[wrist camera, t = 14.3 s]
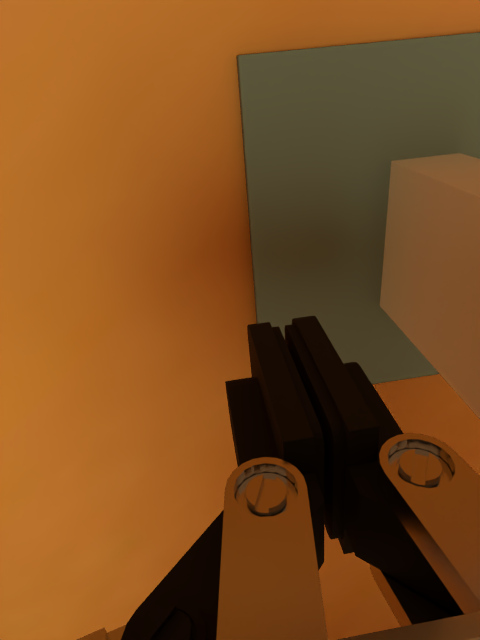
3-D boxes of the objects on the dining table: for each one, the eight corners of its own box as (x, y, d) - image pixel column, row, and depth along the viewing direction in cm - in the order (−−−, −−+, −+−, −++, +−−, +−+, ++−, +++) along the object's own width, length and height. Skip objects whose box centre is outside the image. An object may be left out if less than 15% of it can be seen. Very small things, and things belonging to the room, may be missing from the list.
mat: (593, 345, 23) (599, 349, 22) (262, 395, 21) (263, 400, 21) (716, 10, 16) (729, 8, 15) (236, 55, 14) (238, 55, 14)
